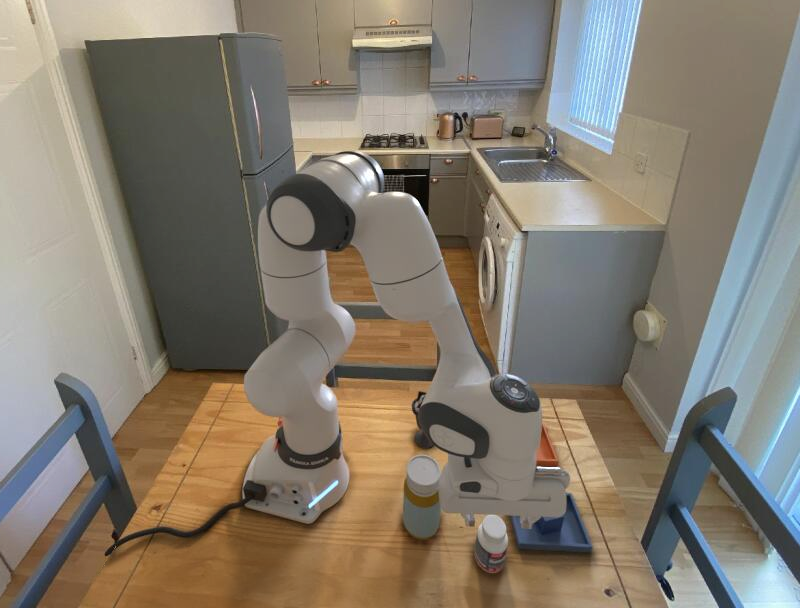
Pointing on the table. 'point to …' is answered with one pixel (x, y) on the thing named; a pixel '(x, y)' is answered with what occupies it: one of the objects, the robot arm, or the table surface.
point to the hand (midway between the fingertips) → (497, 523)
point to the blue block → (550, 524)
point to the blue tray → (555, 533)
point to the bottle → (421, 497)
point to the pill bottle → (491, 544)
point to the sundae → (419, 436)
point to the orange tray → (546, 451)
